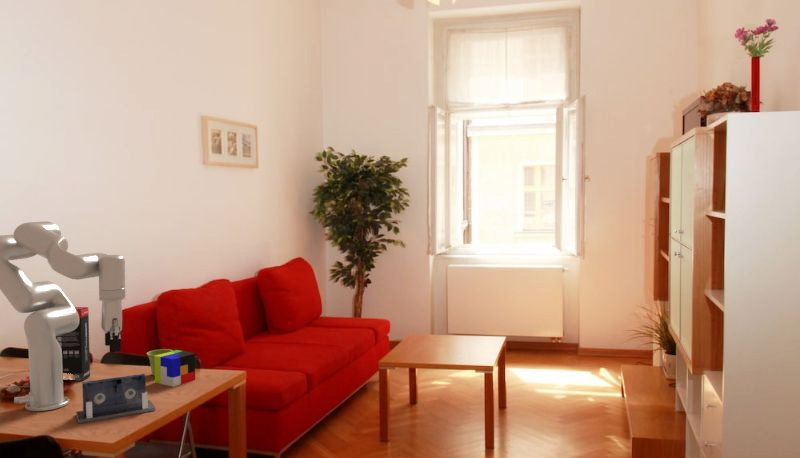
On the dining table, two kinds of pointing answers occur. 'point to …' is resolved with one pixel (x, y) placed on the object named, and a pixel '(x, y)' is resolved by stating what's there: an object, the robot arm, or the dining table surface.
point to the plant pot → (152, 360)
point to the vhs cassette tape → (114, 393)
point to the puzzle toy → (174, 368)
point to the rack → (90, 417)
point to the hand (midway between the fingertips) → (112, 348)
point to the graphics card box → (77, 348)
